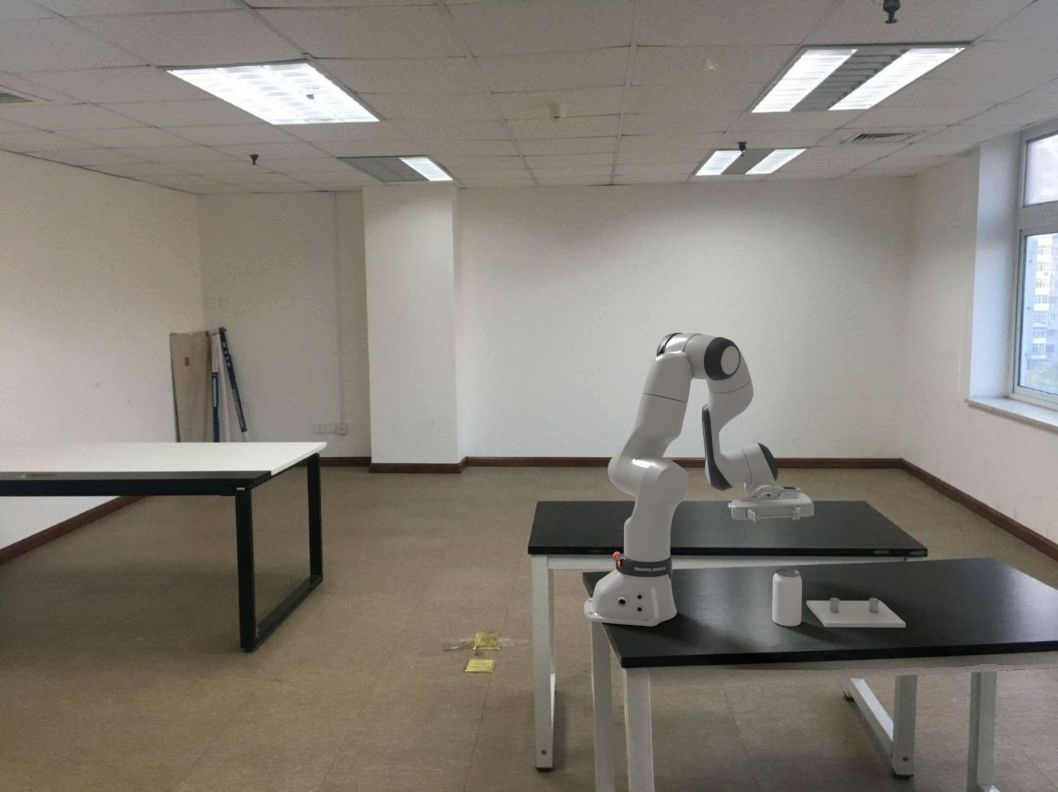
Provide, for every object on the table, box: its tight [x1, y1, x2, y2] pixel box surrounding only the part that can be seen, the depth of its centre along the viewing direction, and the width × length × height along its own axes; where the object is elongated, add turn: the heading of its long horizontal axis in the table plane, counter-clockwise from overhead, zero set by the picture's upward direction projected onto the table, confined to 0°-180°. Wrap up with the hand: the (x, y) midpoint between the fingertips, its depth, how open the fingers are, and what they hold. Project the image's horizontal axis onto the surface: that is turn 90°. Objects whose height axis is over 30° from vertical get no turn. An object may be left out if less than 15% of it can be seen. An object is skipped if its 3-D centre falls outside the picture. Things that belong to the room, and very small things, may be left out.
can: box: [771, 568, 803, 628], centre depth 179 cm, size 6×6×12 cm
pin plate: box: [806, 597, 906, 628], centre depth 182 cm, size 18×14×4 cm
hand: (776, 517), depth 188 cm, fingers open, 8 cm apart
